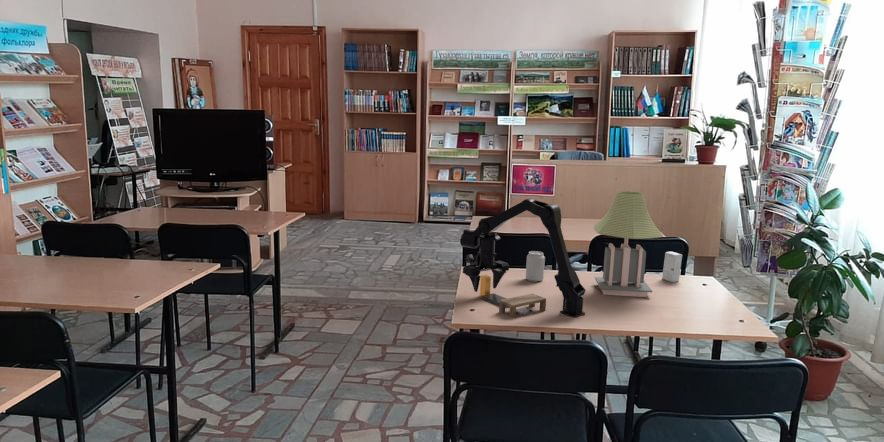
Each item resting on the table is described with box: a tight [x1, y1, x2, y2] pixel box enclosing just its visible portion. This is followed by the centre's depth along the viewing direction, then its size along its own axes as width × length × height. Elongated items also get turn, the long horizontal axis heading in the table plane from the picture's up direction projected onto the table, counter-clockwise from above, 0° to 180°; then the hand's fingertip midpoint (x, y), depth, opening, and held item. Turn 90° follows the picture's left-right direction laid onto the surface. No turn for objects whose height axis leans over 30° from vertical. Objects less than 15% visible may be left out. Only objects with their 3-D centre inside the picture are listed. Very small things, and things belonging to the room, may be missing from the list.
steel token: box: [516, 307, 534, 316], centre depth 227 cm, size 5×5×1 cm
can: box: [525, 250, 546, 283], centre depth 270 cm, size 8×8×12 cm
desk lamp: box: [593, 190, 663, 298], centre depth 255 cm, size 26×28×40 cm
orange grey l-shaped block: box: [479, 274, 510, 309], centre depth 238 cm, size 16×6×8 cm, turn 36°
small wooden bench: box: [498, 293, 547, 319], centre depth 227 cm, size 7×16×4 cm, turn 126°
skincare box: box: [661, 251, 683, 283], centre depth 277 cm, size 6×4×12 cm
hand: (485, 290), depth 244 cm, fingers open, 9 cm apart
